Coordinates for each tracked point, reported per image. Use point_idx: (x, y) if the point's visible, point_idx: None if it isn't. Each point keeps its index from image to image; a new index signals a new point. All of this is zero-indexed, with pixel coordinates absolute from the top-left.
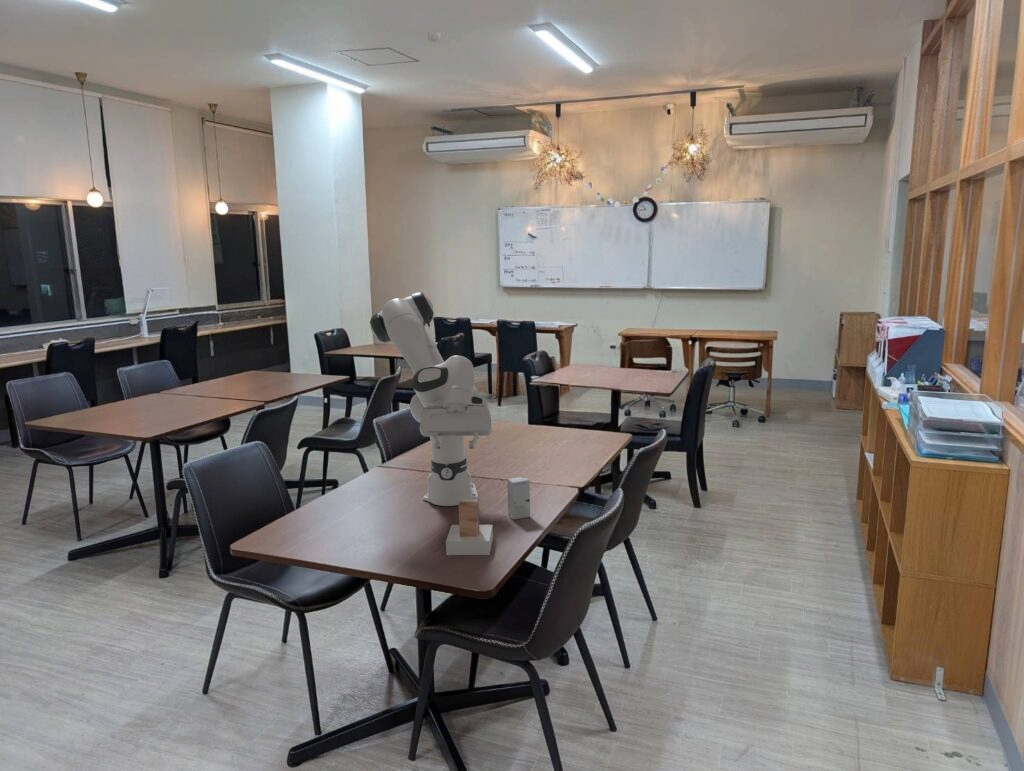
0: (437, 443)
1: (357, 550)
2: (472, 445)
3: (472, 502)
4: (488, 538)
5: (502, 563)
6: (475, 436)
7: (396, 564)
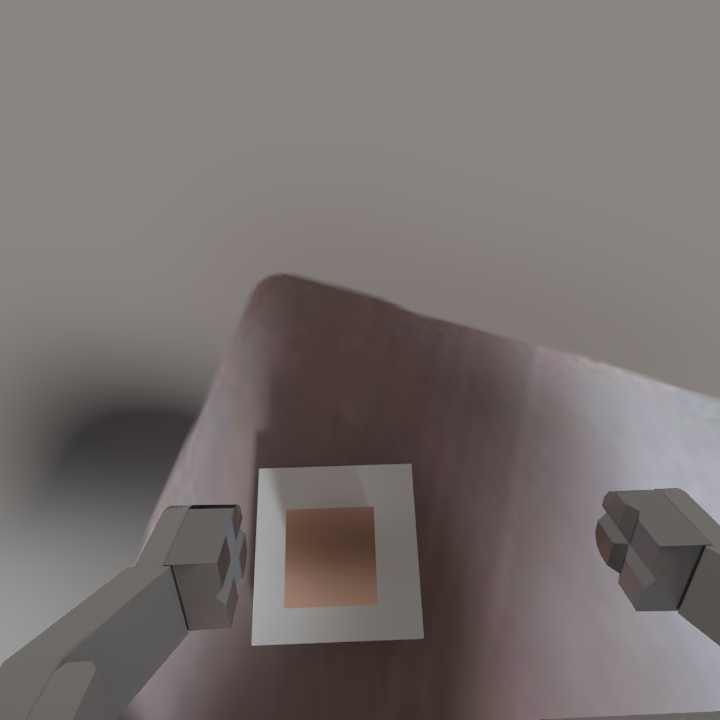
0: (671, 515)
1: (709, 502)
2: (190, 507)
3: (310, 558)
4: (262, 493)
5: (228, 414)
6: (83, 625)
7: (539, 402)
